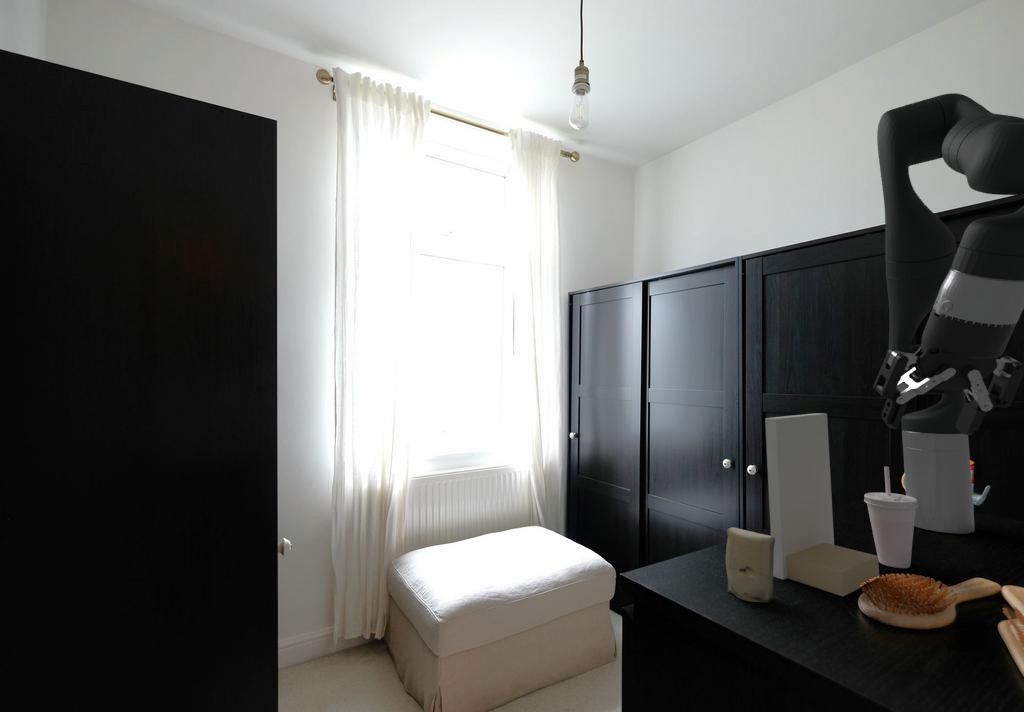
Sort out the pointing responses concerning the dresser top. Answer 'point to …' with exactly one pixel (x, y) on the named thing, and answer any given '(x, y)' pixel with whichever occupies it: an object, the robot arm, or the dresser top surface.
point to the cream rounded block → (750, 565)
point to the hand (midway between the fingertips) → (925, 428)
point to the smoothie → (892, 525)
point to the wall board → (808, 508)
